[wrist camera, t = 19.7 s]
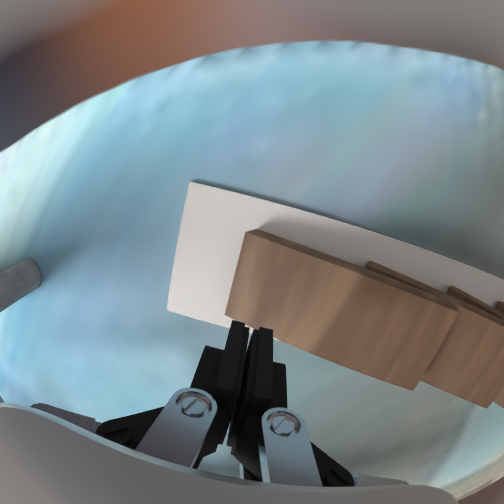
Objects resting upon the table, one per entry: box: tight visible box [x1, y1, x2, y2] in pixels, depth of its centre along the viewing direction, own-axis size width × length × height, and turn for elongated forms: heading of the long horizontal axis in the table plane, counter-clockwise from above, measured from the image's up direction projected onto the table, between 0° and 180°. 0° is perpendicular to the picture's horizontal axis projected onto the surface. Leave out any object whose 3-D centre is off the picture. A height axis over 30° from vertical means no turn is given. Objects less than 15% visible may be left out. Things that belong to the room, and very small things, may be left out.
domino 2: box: [365, 261, 504, 408], centre depth 17 cm, size 2×6×14 cm
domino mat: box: [167, 182, 504, 341], centre depth 21 cm, size 10×42×1 cm, turn 76°
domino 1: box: [225, 229, 458, 391], centre depth 17 cm, size 2×6×14 cm
